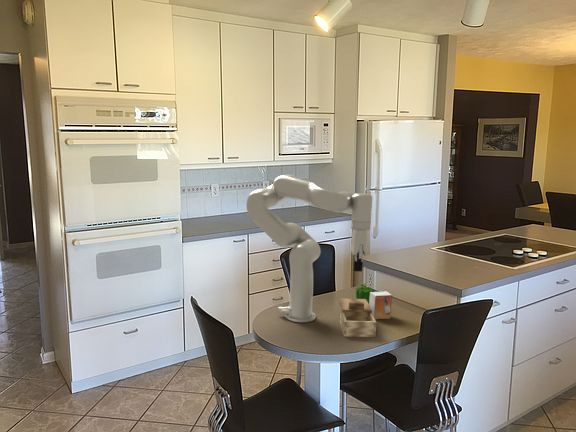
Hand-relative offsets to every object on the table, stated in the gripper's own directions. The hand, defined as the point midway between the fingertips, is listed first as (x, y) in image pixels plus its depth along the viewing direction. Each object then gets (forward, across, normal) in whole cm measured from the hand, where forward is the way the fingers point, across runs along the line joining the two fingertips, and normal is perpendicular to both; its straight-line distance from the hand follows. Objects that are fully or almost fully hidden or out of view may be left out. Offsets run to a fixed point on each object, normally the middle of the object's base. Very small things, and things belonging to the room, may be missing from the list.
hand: (357, 270), depth 191 cm
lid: (+17, -7, +1) cm, 18 cm away
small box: (+23, -12, +12) cm, 29 cm away
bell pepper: (+23, -27, +8) cm, 36 cm away
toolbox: (+23, +3, +1) cm, 23 cm away
